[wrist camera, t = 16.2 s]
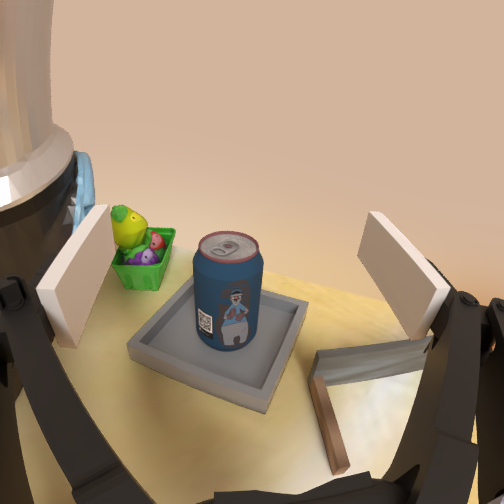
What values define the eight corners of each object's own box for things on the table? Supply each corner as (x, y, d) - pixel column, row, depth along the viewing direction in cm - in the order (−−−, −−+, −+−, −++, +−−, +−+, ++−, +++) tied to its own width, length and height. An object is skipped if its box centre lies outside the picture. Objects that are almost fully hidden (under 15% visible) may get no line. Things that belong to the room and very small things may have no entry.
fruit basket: (164, 297, 42) (157, 223, 37) (107, 293, 42) (92, 221, 36) (178, 255, 52) (175, 191, 47) (129, 253, 52) (121, 191, 46)
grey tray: (130, 358, 32) (126, 343, 31) (197, 285, 45) (197, 270, 44) (265, 414, 28) (267, 401, 26) (305, 316, 41) (308, 302, 40)
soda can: (224, 307, 40) (227, 222, 34) (268, 333, 37) (279, 244, 31) (184, 334, 35) (177, 244, 29) (228, 366, 32) (231, 273, 26)
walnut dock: (495, 417, 24) (519, 392, 22) (332, 475, 22) (350, 455, 19) (457, 354, 34) (473, 327, 32) (307, 380, 32) (316, 350, 29)
